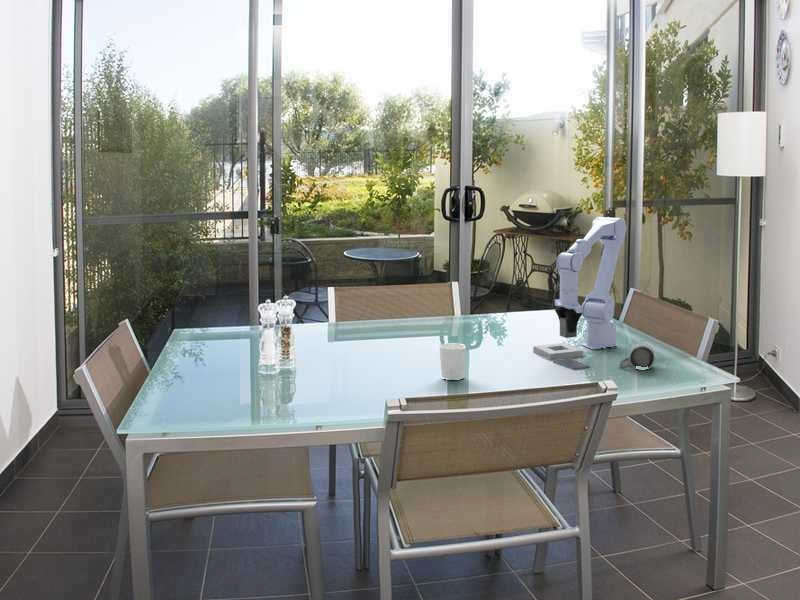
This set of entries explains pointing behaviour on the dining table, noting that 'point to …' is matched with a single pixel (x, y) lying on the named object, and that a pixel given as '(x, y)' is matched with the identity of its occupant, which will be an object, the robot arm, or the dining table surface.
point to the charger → (566, 329)
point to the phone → (571, 363)
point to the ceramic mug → (639, 356)
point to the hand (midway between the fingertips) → (568, 330)
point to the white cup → (453, 360)
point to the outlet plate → (558, 351)
